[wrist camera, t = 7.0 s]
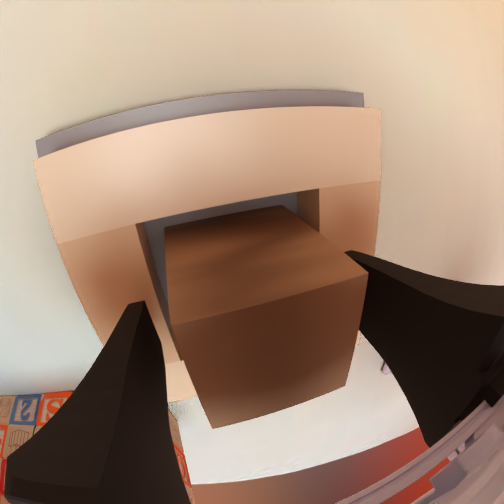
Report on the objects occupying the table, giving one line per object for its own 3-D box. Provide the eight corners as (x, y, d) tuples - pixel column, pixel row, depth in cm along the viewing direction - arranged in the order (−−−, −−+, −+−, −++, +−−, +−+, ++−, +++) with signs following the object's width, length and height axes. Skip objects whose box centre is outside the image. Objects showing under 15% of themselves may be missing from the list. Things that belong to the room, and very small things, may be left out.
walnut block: (281, 204, 12) (368, 272, 7) (285, 298, 14) (345, 385, 9) (164, 227, 11) (170, 325, 6) (188, 322, 13) (212, 428, 8)
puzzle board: (348, 93, 12) (392, 92, 9) (341, 318, 18) (366, 348, 16) (46, 138, 9) (12, 146, 6) (134, 373, 15) (135, 415, 13)
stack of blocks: (149, 375, 16) (181, 564, 5) (178, 420, 19) (215, 561, 8) (-40, 392, 12) (-62, 497, 1) (-1, 430, 15) (-10, 527, 4)
